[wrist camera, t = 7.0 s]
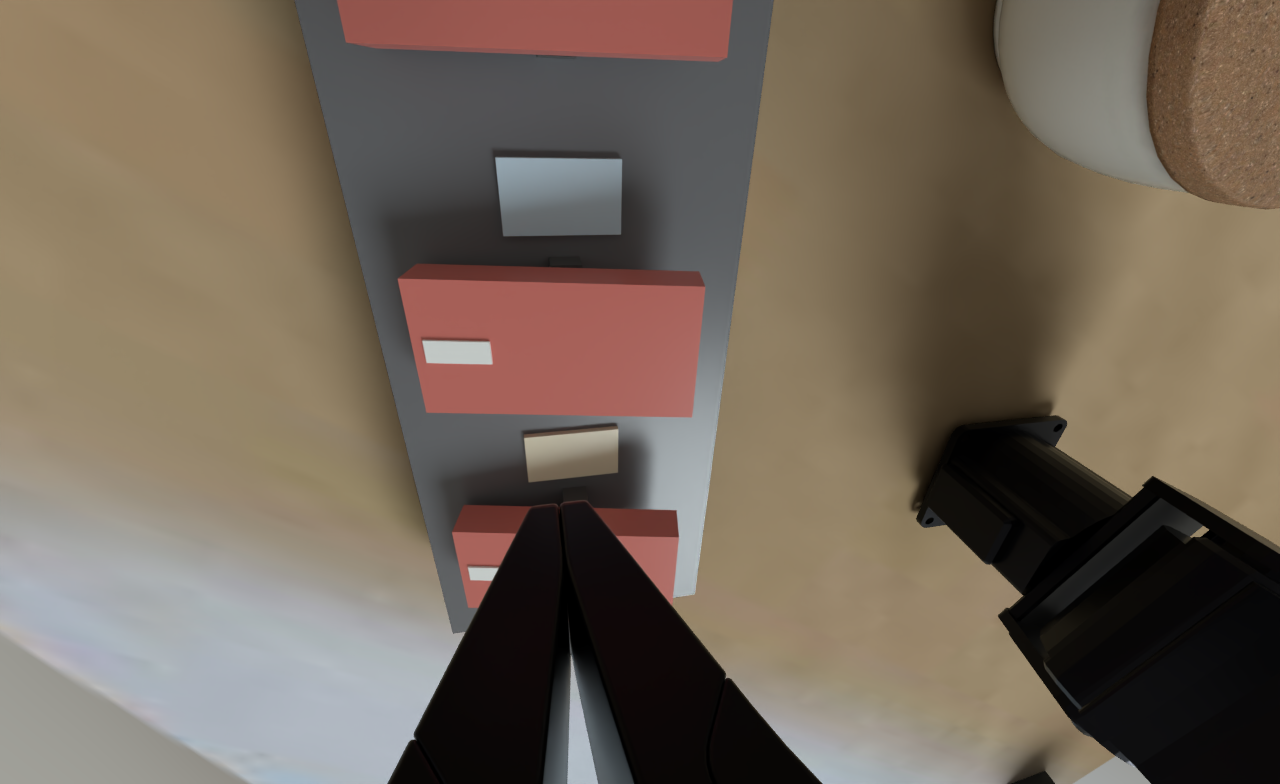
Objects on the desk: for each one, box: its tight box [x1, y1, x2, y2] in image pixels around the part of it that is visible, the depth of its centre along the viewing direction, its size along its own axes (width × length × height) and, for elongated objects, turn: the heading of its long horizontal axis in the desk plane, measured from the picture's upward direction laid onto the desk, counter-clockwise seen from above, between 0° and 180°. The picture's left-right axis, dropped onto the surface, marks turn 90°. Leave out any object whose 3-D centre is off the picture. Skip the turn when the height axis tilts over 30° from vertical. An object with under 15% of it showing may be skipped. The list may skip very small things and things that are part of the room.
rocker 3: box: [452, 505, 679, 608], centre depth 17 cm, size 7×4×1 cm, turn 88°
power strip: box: [295, 0, 774, 655], centre depth 17 cm, size 10×32×4 cm, turn 178°
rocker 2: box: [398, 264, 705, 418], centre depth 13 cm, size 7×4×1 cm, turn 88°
